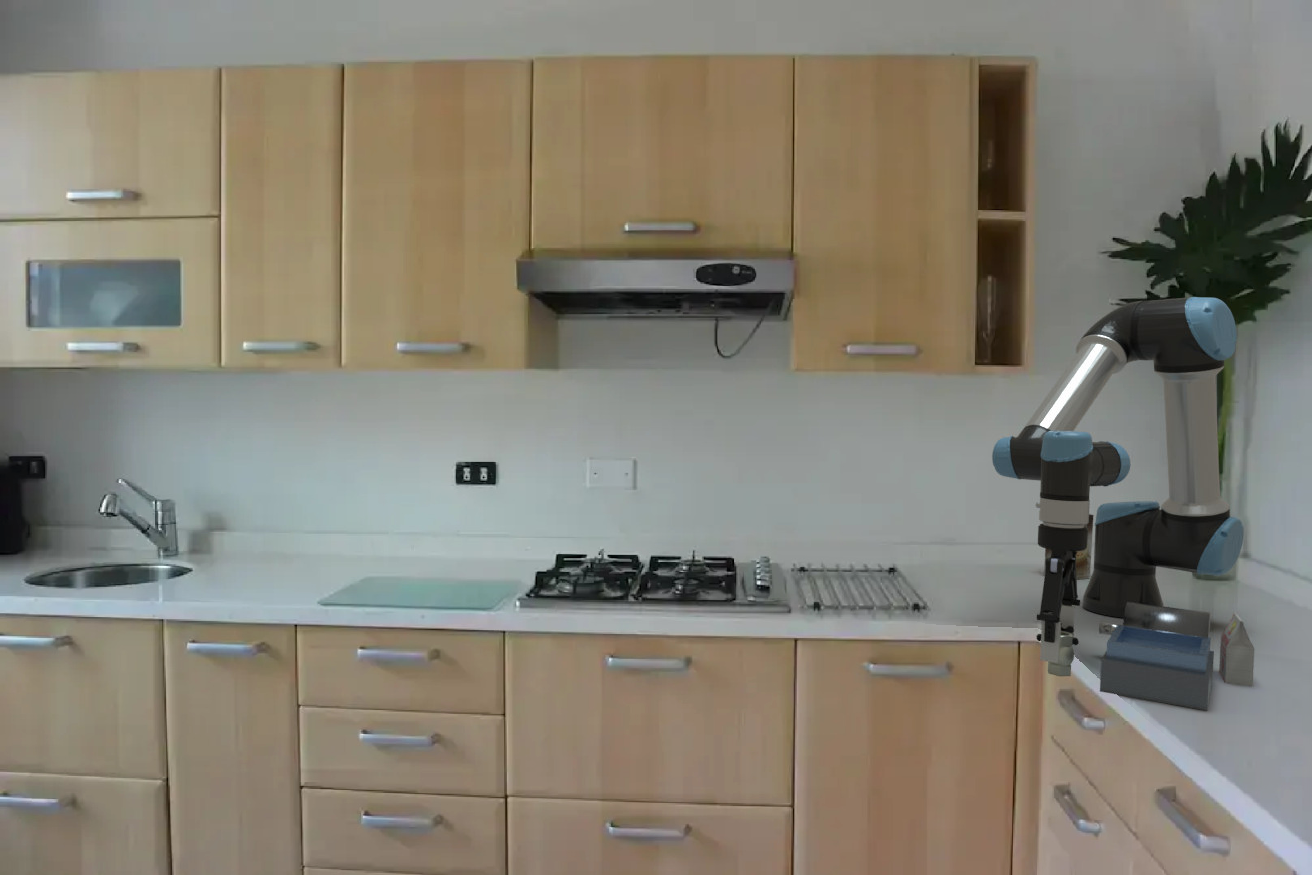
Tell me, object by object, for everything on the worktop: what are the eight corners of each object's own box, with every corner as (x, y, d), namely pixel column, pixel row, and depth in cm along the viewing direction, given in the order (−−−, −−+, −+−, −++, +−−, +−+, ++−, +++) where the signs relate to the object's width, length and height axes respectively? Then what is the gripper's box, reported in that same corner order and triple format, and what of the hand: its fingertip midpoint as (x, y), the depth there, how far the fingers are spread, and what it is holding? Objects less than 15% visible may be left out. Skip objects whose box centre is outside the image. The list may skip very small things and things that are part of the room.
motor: (1102, 649, 163) (1105, 593, 163) (1214, 667, 154) (1218, 608, 153) (1078, 687, 141) (1081, 623, 141) (1207, 710, 132) (1210, 641, 132)
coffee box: (1063, 581, 224) (1066, 515, 224) (1043, 576, 230) (1045, 512, 230) (1091, 578, 228) (1094, 514, 227) (1070, 573, 234) (1073, 511, 233)
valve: (1082, 680, 146) (1077, 660, 157) (1084, 638, 145) (1079, 621, 156) (1037, 674, 148) (1035, 655, 159) (1039, 633, 148) (1037, 617, 159)
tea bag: (1245, 674, 150) (1248, 614, 150) (1252, 686, 144) (1255, 623, 144) (1219, 671, 152) (1222, 611, 151) (1225, 682, 146) (1228, 620, 145)
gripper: (1052, 514, 165) (1047, 632, 166) (1022, 530, 144) (1017, 665, 145) (1099, 518, 160) (1093, 639, 162) (1074, 535, 140) (1068, 674, 141)
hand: (1057, 652), depth 153 cm, fingers open, 13 cm apart
